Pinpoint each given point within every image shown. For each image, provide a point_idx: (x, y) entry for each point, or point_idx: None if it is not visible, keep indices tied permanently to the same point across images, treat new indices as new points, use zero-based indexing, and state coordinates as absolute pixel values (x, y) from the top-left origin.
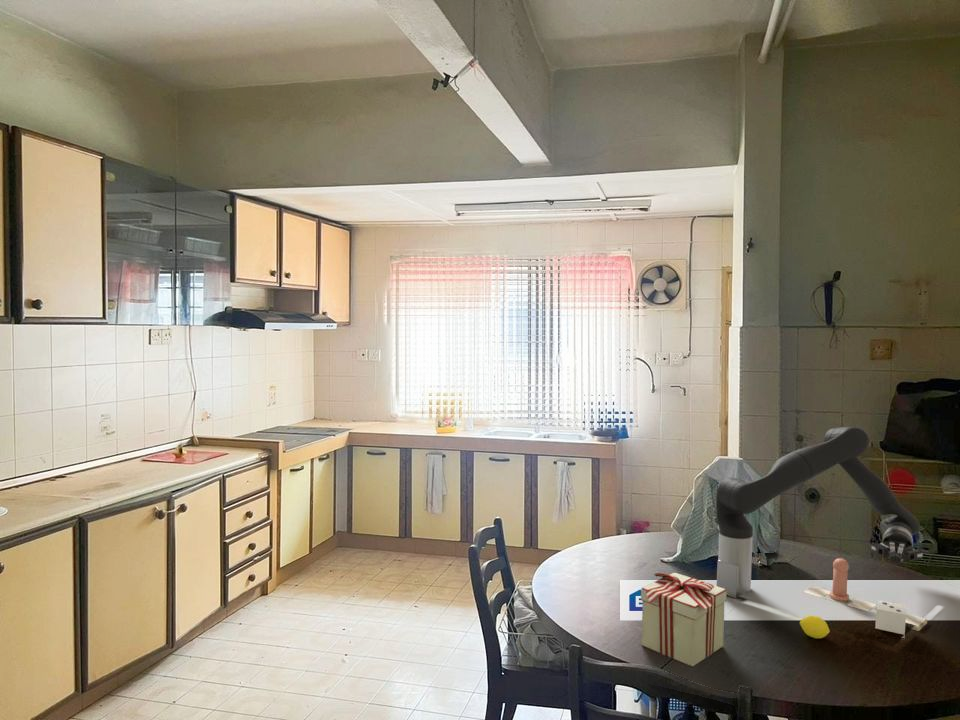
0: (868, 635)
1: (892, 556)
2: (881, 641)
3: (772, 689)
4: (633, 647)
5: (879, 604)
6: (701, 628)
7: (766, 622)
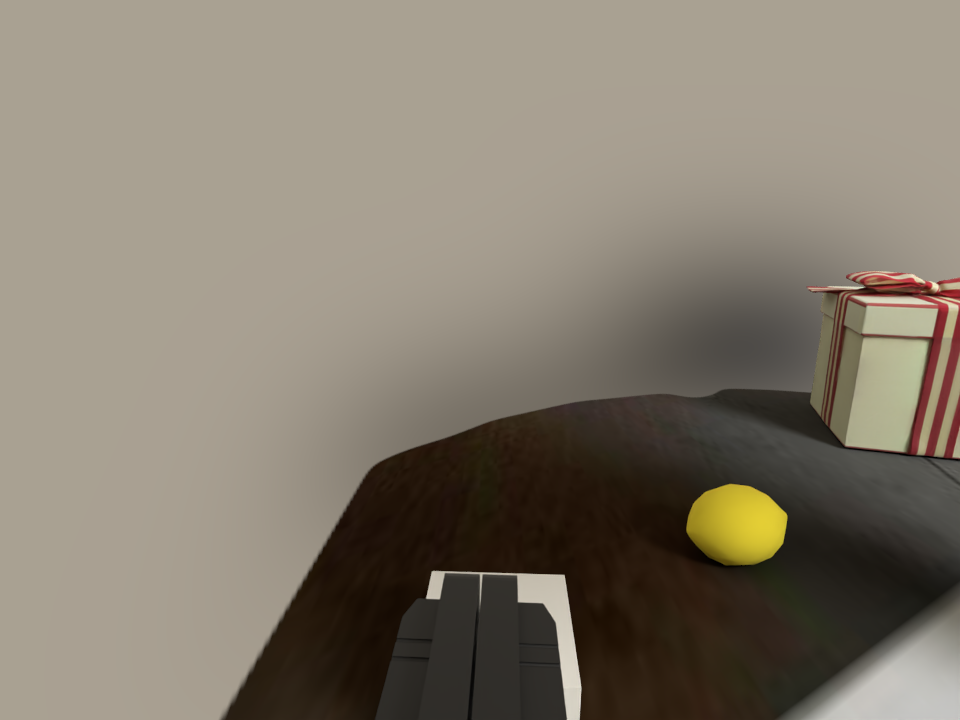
0: (579, 643)
1: (516, 575)
2: None
3: (666, 400)
4: None
5: (559, 626)
6: (826, 345)
7: (931, 582)
